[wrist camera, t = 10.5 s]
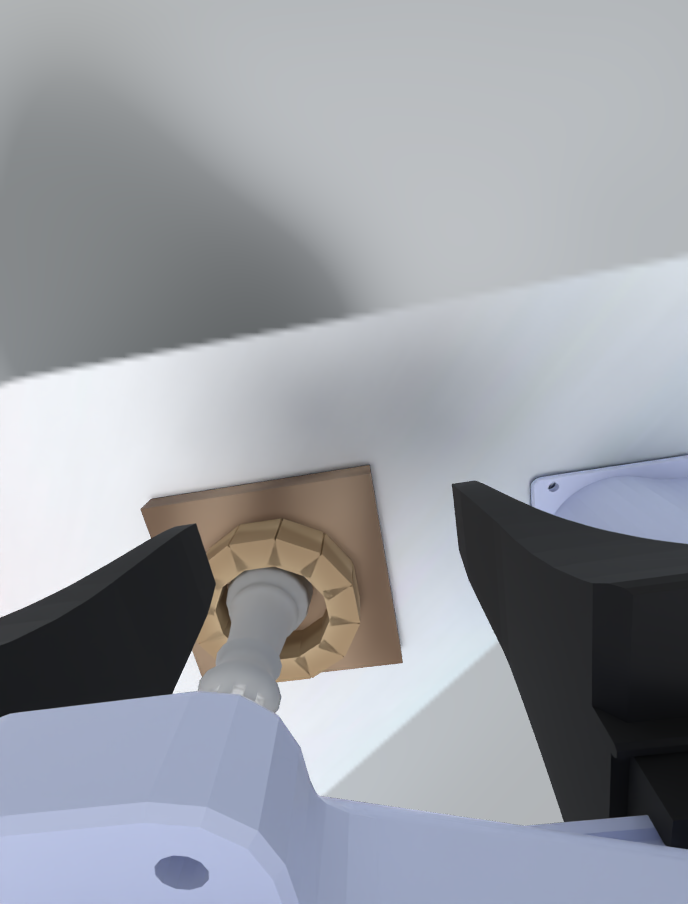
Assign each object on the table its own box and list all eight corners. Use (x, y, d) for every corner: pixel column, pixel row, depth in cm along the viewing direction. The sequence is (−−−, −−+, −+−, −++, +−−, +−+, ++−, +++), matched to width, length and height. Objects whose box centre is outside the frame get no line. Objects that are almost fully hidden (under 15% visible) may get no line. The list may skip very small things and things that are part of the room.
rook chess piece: (313, 619, 24) (293, 763, 16) (234, 615, 24) (178, 758, 17) (314, 549, 23) (292, 673, 15) (229, 546, 23) (165, 667, 15)
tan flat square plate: (369, 465, 22) (371, 490, 19) (400, 647, 26) (406, 692, 23) (151, 499, 23) (120, 528, 20) (211, 669, 27) (193, 715, 24)
